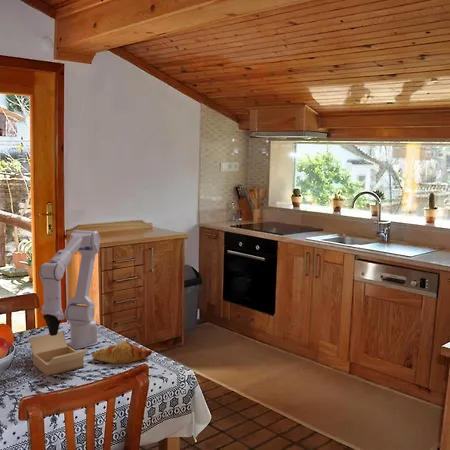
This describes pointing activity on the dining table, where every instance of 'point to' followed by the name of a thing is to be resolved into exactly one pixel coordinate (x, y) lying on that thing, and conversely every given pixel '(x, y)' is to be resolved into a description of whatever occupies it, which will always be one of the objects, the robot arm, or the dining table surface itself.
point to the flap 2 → (67, 357)
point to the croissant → (121, 353)
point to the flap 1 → (47, 342)
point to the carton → (45, 357)
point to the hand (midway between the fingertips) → (53, 334)
